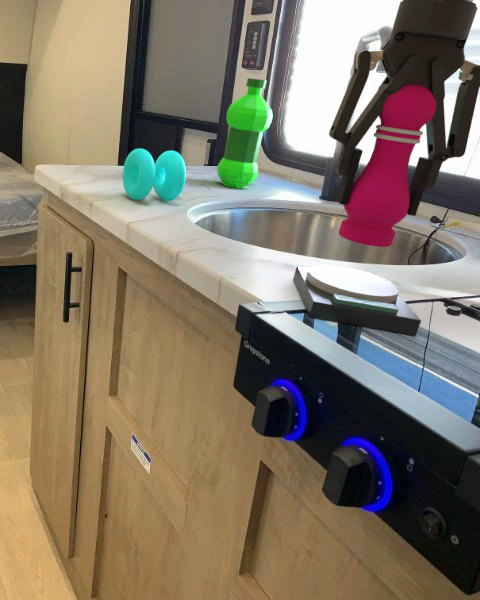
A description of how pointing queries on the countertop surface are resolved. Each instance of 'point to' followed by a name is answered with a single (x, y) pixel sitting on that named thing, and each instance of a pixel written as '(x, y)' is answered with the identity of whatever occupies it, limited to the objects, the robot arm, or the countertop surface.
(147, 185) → the turquoise spool
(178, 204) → the countertop surface
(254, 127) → the plastic bottle
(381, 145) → the pepper mill
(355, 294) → the kitchen scale
